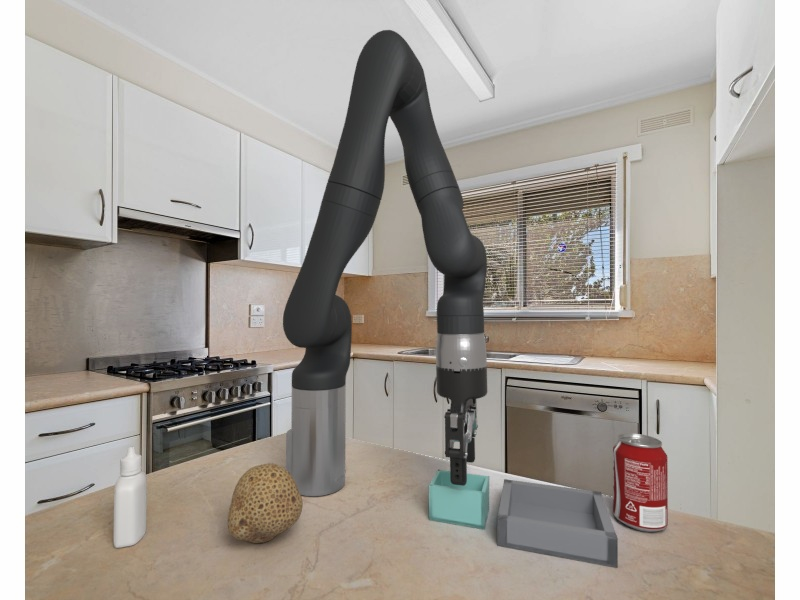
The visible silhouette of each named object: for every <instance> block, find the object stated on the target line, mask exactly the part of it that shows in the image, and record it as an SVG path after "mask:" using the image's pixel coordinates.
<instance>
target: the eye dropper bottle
mask: <svg viewBox="0 0 800 600" xmlns="http://www.w3.org/2000/svg"><path fill="white" fill-rule="evenodd" d="M142 459H143V456H142V455H141V454H138V453H137V452H136V447H135V446H129V447H127V452H126V455H125V456H123V457H121V458H120V461H119V463H120V464H119V475H120V476H118V478H117V480H116V482H115V484H114V487H113V488H114V489H113V490H114V491H113V547H114V548H115V549H120V548H128V547H131V546H134V545H136V544H137V543H138V542H139V541H141V539H142V538H144V536H145V534H146V530H147V495H148V494H147V488H148V487H147V485H148V484H147V483H148V481H147V478H148V477H147V474H146V473H145V472H144V471H143V460H142Z"/></svg>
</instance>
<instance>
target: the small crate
mask: <svg viewBox="0 0 800 600" xmlns="http://www.w3.org/2000/svg"><path fill="white" fill-rule="evenodd" d="M489 512H490V476H489V475H483V474H482V475H481V474H474V473H468V472H467V482H466V485H464V486H462V485H454V484H452V483H451V481H450V470H446V469H445V470H444V469H437V470H436V473H435V474H434V476H433V478H432V480H431V482H430V483H429V484H428V520H429V521H433V522H439V523H445V524H450V525H451V524H452V525H457V526H462V527H468V528H473V529H480V530H486V526H487V521H488V517H489Z"/></svg>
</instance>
